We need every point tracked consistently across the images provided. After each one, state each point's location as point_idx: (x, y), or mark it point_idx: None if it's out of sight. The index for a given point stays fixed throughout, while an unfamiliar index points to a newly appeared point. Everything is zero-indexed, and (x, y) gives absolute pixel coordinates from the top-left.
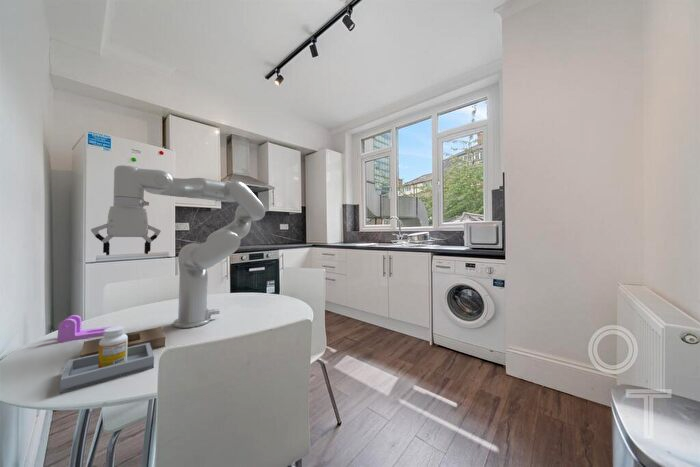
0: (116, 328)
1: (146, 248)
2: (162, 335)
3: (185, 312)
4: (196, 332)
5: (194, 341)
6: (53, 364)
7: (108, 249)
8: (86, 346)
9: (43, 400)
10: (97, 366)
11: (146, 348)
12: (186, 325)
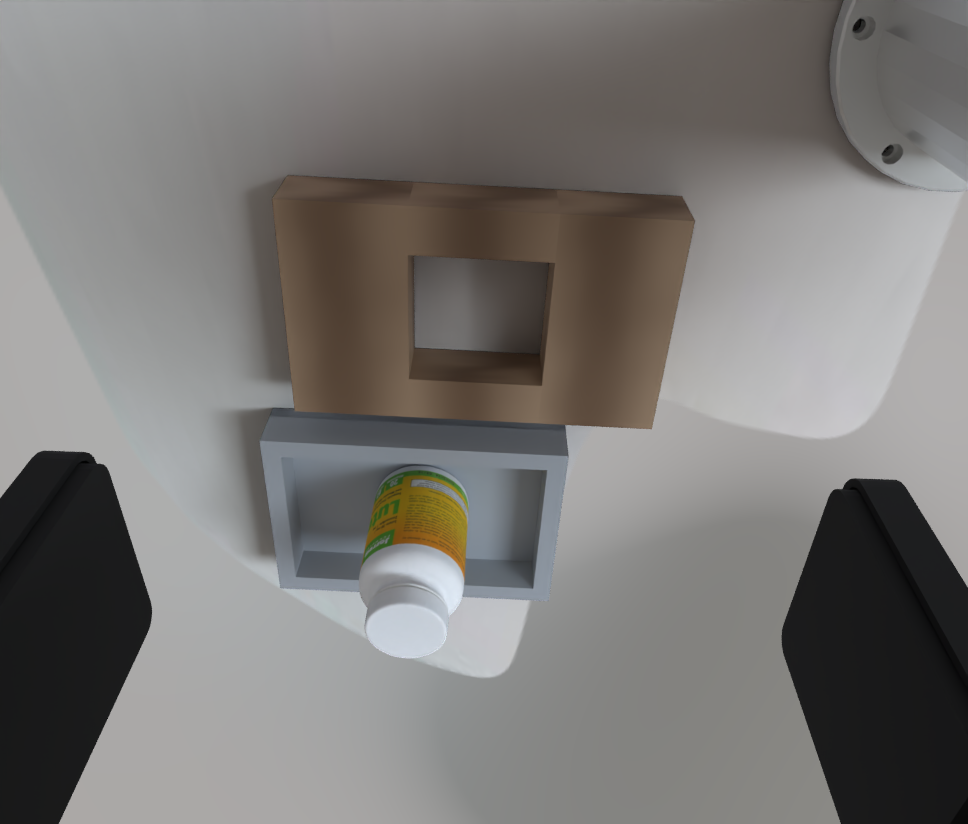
0: (414, 636)
1: (834, 766)
2: (646, 400)
3: (938, 156)
4: (863, 298)
5: (776, 428)
6: (192, 268)
7: (87, 728)
8: (299, 305)
9: (258, 561)
10: (371, 463)
11: (542, 507)
12: (878, 169)
